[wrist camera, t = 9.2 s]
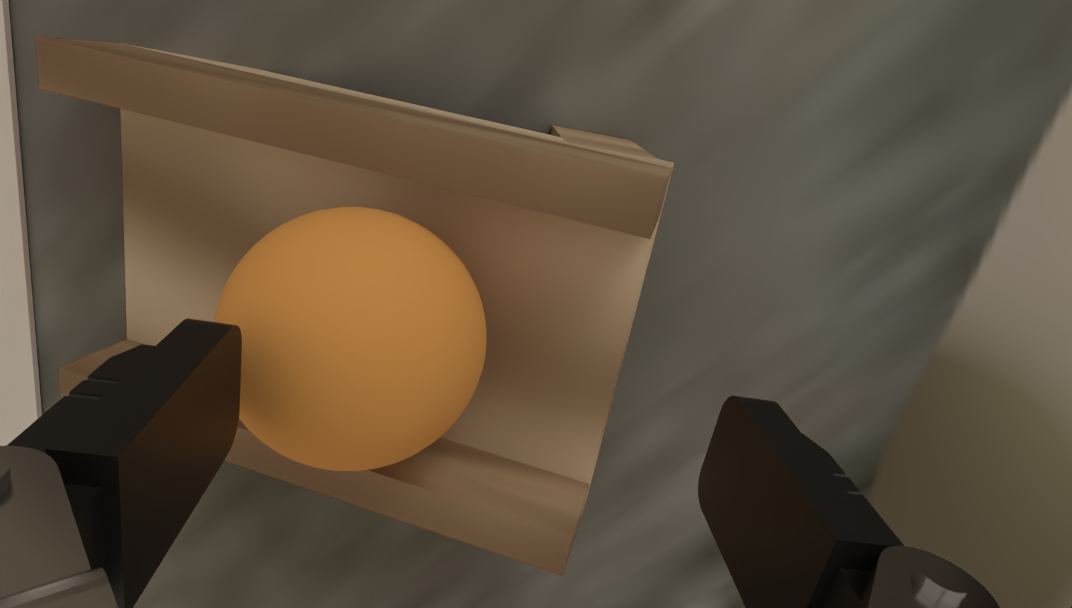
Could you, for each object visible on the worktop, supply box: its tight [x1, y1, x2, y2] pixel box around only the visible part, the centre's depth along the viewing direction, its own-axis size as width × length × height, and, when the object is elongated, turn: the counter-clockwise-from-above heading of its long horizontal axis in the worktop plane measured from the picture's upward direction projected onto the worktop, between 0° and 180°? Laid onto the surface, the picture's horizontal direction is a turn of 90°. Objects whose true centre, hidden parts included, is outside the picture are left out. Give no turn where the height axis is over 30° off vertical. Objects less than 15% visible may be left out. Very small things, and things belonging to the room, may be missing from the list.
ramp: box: [35, 37, 674, 576], centre depth 15 cm, size 8×13×7 cm, turn 79°
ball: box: [214, 207, 486, 471], centre depth 13 cm, size 5×5×5 cm
